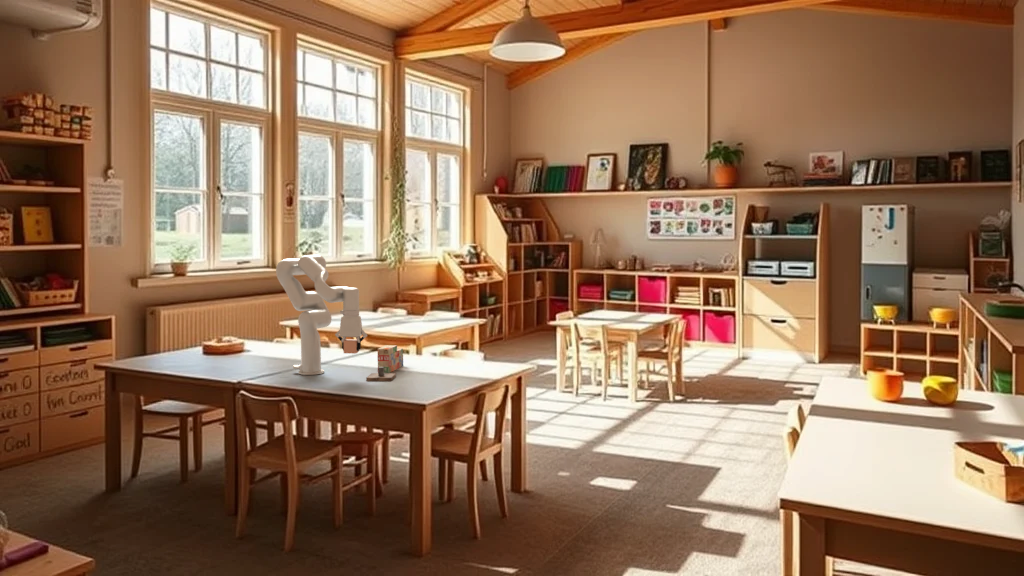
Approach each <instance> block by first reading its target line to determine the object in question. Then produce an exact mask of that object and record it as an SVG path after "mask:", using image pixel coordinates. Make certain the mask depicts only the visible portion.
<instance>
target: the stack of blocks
mask: <svg viewBox="0 0 1024 576" xmlns="http://www.w3.org/2000/svg"><path fill="white" fill-rule="evenodd" d="M403 366H404V349H403V348H398V345H395V344H393V345H390V344H389V345H387V344H385V345H383V346H381V347H379V348H377V368H378V367H384V373H393V372H394V371H396V370H398V369H400V368H401V367H403Z"/></svg>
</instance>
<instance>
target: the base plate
mask: <svg viewBox="0 0 1024 576" xmlns="http://www.w3.org/2000/svg"><path fill="white" fill-rule="evenodd" d="M396 376H397V374H396V372H390V373H384V367H378V366H377V372H371V373H370V374H369V375H368V376H367V377H365V379H366V382H392V381H393V380H394V379H395V378H396Z"/></svg>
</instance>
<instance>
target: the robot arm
mask: <svg viewBox="0 0 1024 576" xmlns="http://www.w3.org/2000/svg"><path fill="white" fill-rule="evenodd" d="M326 266H327V261H326V259H325V258H324V257H323V256H322V255H321V254H307V255H306V254H305V255H303V256H301V257H299V258H297V257H295V258H284V259H283V260H282V259H281V260H280V261H279V262H278V263H277V265H276V267H275V268H276V269H275V274H276V278H277V280H278V282H279V284H280V286H282V288H283V290H284V292H285V293H286V295H287V297H288V299H289V302H291V304H292V307H293V308H294V309H295V311H298V312H300V314H299V315H298V318H297V320H298V321H297V322H298V323H297V324H298V326H299V331H300V333H299V334H300V354H301V355H300V358H301V359H300V360H301V363H300V364H299V365H298V364H293V367H292V369H294V370H298V374H299V375H302V376H314V375H315V376H316V375H321V374H322V375H323V374H324V373H325V370H324V369H322V360H321V359H322V355H321V354H322V353H321V349H322V348H321V345H322V344H321V335H320V333H319V331H318V329H320V328H321V329H323V328H326V327H329V326H330V325H331V323H332V315H331V312H330V310H329V308H328V306H327V304H326V303H331V304H332V303H342V304H343V305H342V307H343V308H342V310H340V314H341V315H342V316H341V317H340V326H339V330H338V331H337V332H335V334H334V336H335V337H336V338H337V339H338V340H339V341H340V342H341V349H342V351H343V352H344V340H346V339H347V338H355V339H357V351H359V352H360V350H361V345H362V344H361V343H362V341H363V340H364V339H366V338H367V337H368V334H367V332H365V330H364V329H363V323H362V317H361V315H360V289H359V288H358V287H349V286H346V285H345V286H343V285H342V286H339V285H338V286H330V285H328V284H327V283H326V281H327V280H328V278H329V271H328V270H327V269H326ZM301 275H302V276H303V275H306V276H307V277H308V278H309V279H310V280H311V281H312V282H313V283H314V289H315V291H313V290H311V291H309V290H308V291H306V290H305V289H304V287H303V285H302V283H301V282H300V281H299V280H298V279H297V278H295V276H301Z"/></svg>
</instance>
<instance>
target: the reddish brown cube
mask: <svg viewBox="0 0 1024 576" xmlns="http://www.w3.org/2000/svg"><path fill="white" fill-rule="evenodd" d="M359 352H360V350H359V351H357V339H356V338H346V339H345V340H344V351H343V354H352V355H353V354H358V353H359Z"/></svg>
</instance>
